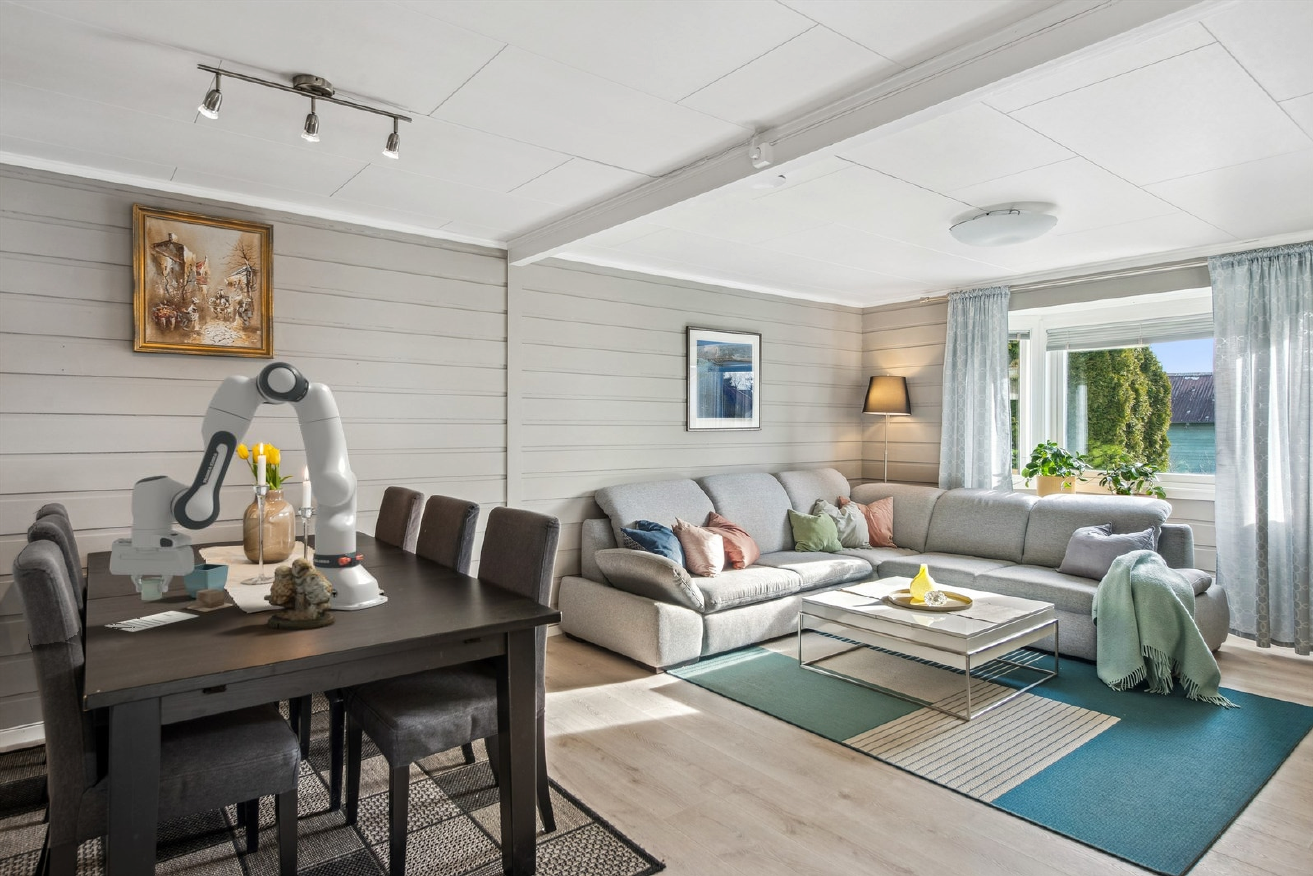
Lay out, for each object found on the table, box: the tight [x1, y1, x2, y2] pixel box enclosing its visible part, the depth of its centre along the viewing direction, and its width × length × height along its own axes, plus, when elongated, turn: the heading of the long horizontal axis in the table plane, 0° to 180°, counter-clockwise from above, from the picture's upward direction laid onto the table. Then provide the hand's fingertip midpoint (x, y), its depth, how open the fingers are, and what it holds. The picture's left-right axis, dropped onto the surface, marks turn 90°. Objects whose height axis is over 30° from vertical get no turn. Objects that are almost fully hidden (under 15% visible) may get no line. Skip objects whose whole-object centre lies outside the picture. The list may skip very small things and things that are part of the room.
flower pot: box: [182, 563, 230, 599], centre depth 225 cm, size 9×9×9 cm
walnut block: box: [195, 589, 225, 608], centre depth 212 cm, size 6×4×4 cm, turn 64°
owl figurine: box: [263, 557, 336, 631], centre depth 196 cm, size 18×12×17 cm, turn 87°
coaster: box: [186, 602, 234, 612], centre depth 212 cm, size 8×8×1 cm
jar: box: [141, 576, 163, 601], centre depth 197 cm, size 5×5×5 cm
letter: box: [104, 610, 199, 632], centre depth 197 cm, size 12×17×1 cm
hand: (152, 591), depth 197 cm, fingers closed on jar, 4 cm apart
